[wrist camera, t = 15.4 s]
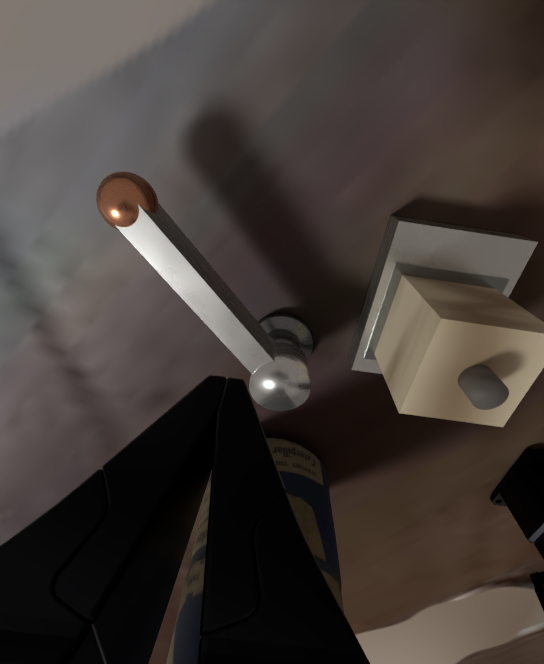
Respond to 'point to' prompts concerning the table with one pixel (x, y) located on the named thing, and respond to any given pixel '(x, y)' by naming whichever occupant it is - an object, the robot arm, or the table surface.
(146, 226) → the lever
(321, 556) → the canister
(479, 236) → the plate
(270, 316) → the grey metal flanged disc
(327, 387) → the table surface
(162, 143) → the table surface
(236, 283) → the table surface
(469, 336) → the block
